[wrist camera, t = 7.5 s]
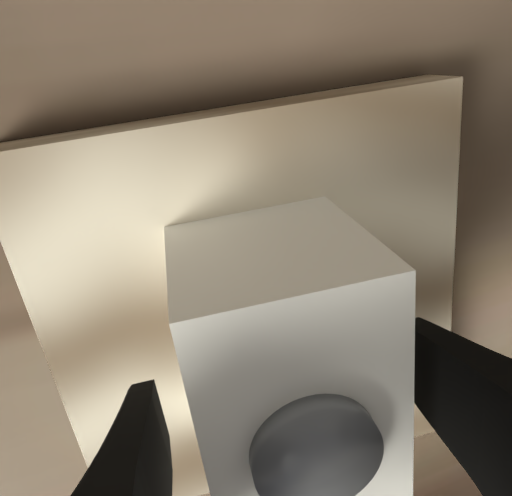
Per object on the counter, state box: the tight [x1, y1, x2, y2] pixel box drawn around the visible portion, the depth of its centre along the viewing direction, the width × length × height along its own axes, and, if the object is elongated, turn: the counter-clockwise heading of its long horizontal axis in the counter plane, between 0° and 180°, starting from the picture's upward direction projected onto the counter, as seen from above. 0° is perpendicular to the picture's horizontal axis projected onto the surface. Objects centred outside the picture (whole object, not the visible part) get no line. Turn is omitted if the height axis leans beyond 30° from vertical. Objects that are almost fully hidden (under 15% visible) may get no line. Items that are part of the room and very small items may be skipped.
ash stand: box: [0, 74, 463, 496], centre depth 17 cm, size 14×14×2 cm
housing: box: [164, 196, 416, 496], centre depth 13 cm, size 8×5×6 cm, turn 8°
